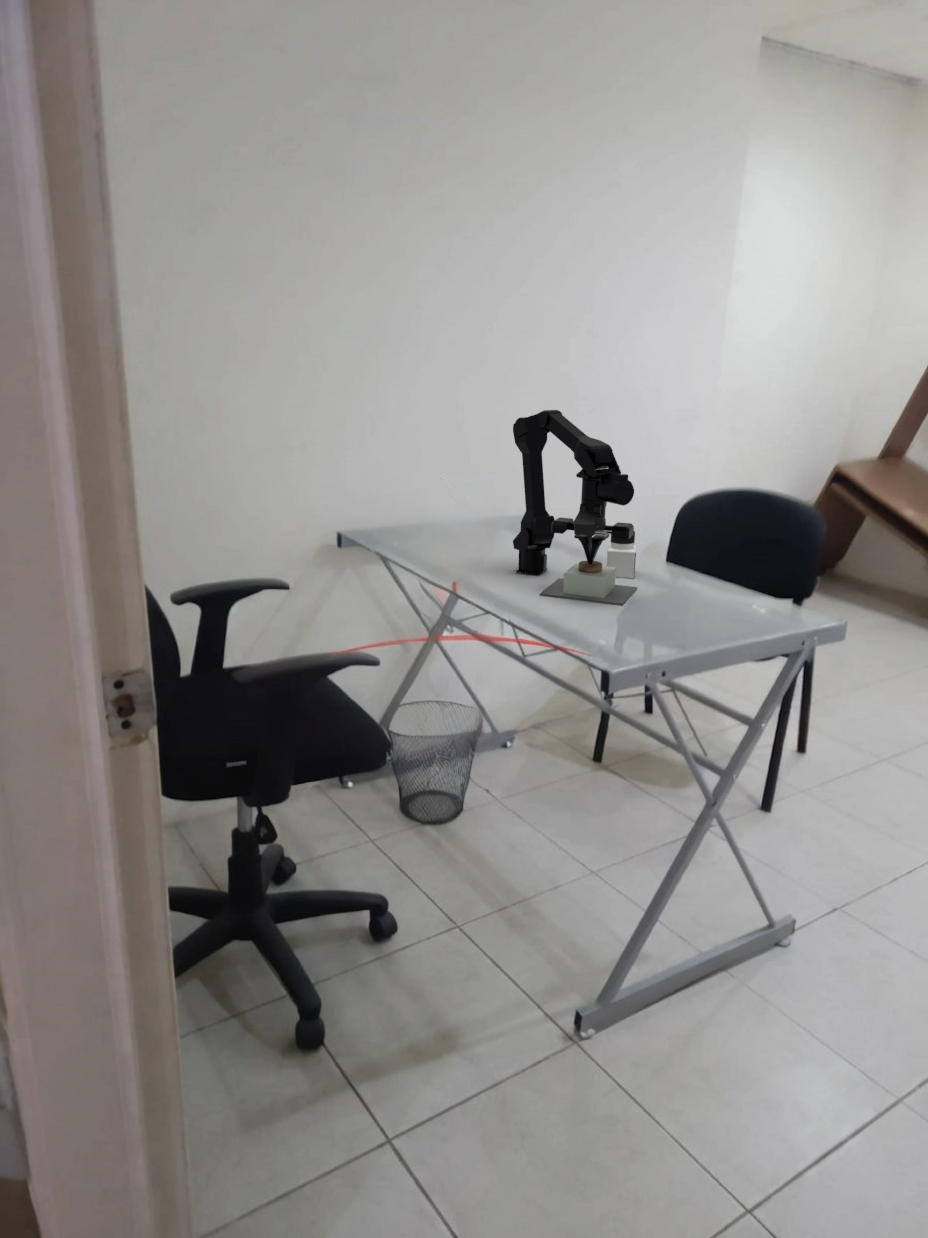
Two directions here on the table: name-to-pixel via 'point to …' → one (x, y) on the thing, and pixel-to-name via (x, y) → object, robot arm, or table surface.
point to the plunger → (590, 567)
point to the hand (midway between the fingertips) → (590, 563)
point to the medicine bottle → (622, 556)
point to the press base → (590, 587)
